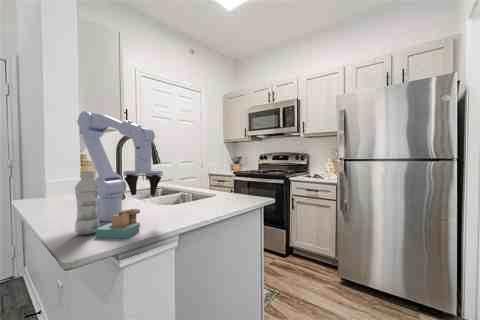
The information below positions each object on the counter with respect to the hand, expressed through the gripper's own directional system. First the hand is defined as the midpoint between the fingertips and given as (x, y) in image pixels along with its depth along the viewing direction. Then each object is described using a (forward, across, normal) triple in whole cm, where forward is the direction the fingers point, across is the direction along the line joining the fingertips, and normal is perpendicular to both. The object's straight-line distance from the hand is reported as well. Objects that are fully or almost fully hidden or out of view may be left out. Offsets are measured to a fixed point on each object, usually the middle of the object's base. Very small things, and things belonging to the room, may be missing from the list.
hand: (143, 195), depth 84 cm
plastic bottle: (+11, -11, -14) cm, 21 cm away
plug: (+10, -1, -12) cm, 16 cm away
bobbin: (+10, -2, -6) cm, 12 cm away
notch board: (+10, -1, -13) cm, 17 cm away
